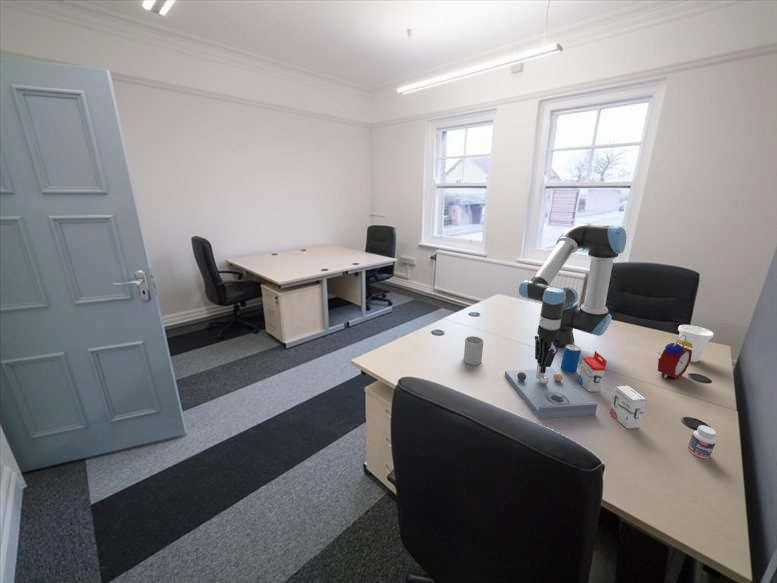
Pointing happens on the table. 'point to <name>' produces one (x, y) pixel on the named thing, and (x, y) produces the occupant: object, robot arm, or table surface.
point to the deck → (550, 395)
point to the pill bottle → (702, 441)
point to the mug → (473, 350)
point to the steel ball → (543, 380)
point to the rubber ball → (521, 376)
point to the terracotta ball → (558, 377)
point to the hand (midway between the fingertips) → (539, 378)
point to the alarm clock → (675, 358)
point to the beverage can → (570, 359)
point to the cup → (695, 339)
